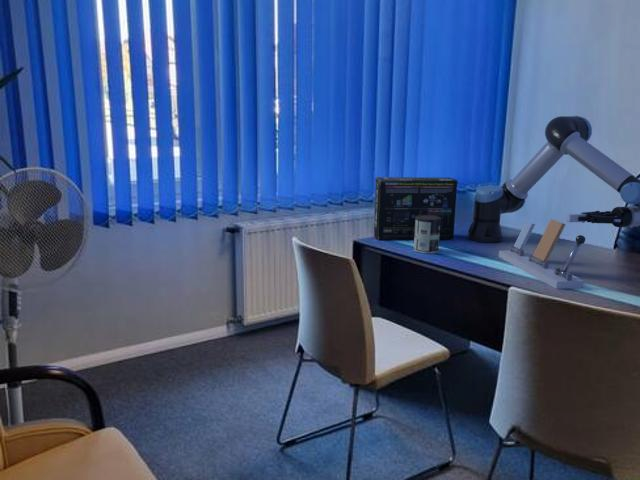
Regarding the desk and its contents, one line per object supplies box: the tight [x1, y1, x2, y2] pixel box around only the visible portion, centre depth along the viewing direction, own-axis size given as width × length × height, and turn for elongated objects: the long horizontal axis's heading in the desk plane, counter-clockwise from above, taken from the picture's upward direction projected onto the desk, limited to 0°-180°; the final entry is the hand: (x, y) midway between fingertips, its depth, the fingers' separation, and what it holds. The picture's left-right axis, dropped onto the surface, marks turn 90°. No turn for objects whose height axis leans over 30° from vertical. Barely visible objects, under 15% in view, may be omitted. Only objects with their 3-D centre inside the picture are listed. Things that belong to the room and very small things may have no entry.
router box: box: [373, 176, 459, 241], centre depth 247 cm, size 36×11×27 cm, turn 96°
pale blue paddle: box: [512, 220, 536, 254], centre depth 217 cm, size 2×5×13 cm, turn 11°
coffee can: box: [413, 215, 441, 255], centre depth 227 cm, size 10×10×14 cm
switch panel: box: [498, 244, 585, 290], centre depth 204 cm, size 10×39×5 cm, turn 11°
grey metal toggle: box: [556, 234, 586, 278], centre depth 188 cm, size 3×5×15 cm, turn 11°
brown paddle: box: [530, 218, 566, 266], centre depth 202 cm, size 2×8×17 cm, turn 11°
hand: (568, 218), depth 201 cm, fingers closed
